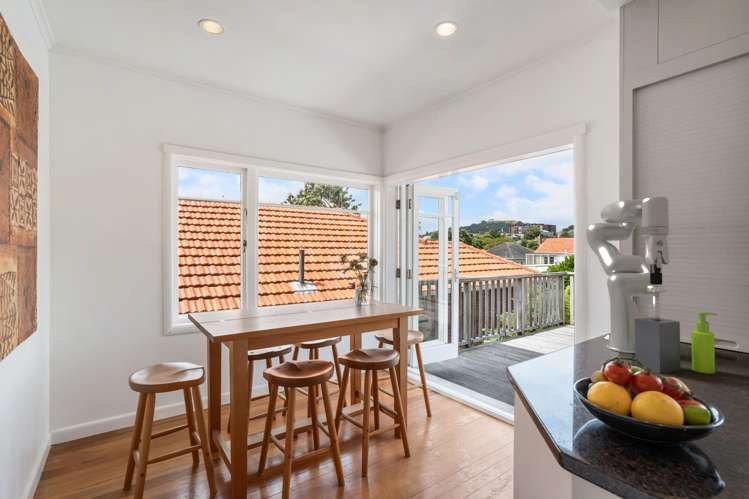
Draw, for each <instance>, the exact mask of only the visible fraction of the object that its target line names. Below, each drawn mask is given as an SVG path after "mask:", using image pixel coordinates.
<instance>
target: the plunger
mask: <svg viewBox="0 0 749 499" xmlns="http://www.w3.org/2000/svg"><path fill="white" fill-rule="evenodd" d="M647 292H653V295H652V311H653V312H652V313H653V316H652V317H653V320H654V321H660V318H661V316H660V315H661V314H660V313H661V312H660V309H661V308H660V301H661V300H660V294H661V293H666V286H665V285H647Z"/></svg>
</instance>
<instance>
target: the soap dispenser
mask: <svg viewBox="0 0 749 499" xmlns="http://www.w3.org/2000/svg"><path fill="white" fill-rule="evenodd" d="M695 314H696V315H698V320H697V321H695V328H696V329H695V330H691V370H693V371H695V372H697V373H703V374H716V366H715V365H716V362H715V361H716V360H715V359H716V358H715V357H716V356H715V353H716V352H715V351H716V350H715V333H714V332H711V331H710V322H709V321H706V320H707V318H706V317H707V316H706V315H708V316H709V315H712V316H718V313H714V312H711V311H696V312H695Z"/></svg>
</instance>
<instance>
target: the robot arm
mask: <svg viewBox="0 0 749 499" xmlns="http://www.w3.org/2000/svg"><path fill="white" fill-rule="evenodd" d="M599 215H600V218H601V219H602V220H603V221H604V222H596V223H592V224H590V225H589V226H587V228H586V231H585V232H586V233H585V237H586V242H587V243H588V245H589V247H590V249H591V250H592V251H593V252H594V254H595V255H596V256H597V258H598V261H599V263H600V265H601V267H602V269H603V271H604V273H605V274H606V276H608V278H607V280H606V285H607V290H608V295H609V296H608V297H609V306H610V307H609V310H610V313H609V314H610V316H609V317H610V335H609V334H607V335H606V336H604V340H605V341H608V343H606V348H607V349H608V350H610V351H612V352H613V351H614V352H618V353H623V354H624V353H626V354H635V319H636V318H639V309H638V305H637V303H636V302H635V301H634V300H633V299H632V297H653V292H647V285H659V286H663V265H669V263H670V257H669V256H670V254H669V245H668V238H667V237H670V233H669V232H670V231H669V230H670V227H669V226H670V222H669V220H670V219H669V199H668V197H666V196H662V195H661V196H650V197H649V196H647V197H645V198H639V199H623V200H621V199H620V200H617V201H613V202H612V203H610V204H608V205H606V206H604V207H603V208H601V211H600V214H599ZM640 220H641V234H642V235H641V236H642V237H645V246H644V248H645V250H644V251H645V254H644V256H645V258H643V257H642V256H640V255H636V254H634V255H632V254H631V255H629V254H628V255H627V254H621V253H620V251H619V249H618V248H617V247H616V245H614V244H613V243H611V242H612V241H617V242H618V241H627V240H629V239H630V238H631V236H633V235H632V234H633V232H634V230H635V228H637V225H638V223H639V221H640Z"/></svg>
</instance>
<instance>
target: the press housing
mask: <svg viewBox="0 0 749 499" xmlns="http://www.w3.org/2000/svg"><path fill="white" fill-rule="evenodd" d="M634 359H638V360H640V361H642V362H643V363H644V364H645V365H646V366H647V367H648V368H650V370H649V371H652V370H654V371H653V372H655V371H660V372H665V373H672V371H673V372H680V371H681V324H680V321H679V320H678V321H677V320H672V319H667V318H662V317H660V321H654V320H653V316H651V317H641V318H640V317H638V318H636V319H635V353H634ZM634 365H635V366H636V365H637V363H635V364H634ZM651 369H652V370H651Z"/></svg>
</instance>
